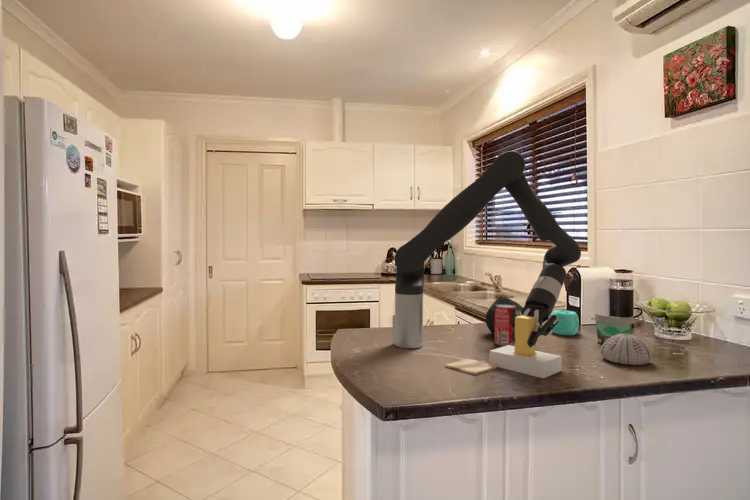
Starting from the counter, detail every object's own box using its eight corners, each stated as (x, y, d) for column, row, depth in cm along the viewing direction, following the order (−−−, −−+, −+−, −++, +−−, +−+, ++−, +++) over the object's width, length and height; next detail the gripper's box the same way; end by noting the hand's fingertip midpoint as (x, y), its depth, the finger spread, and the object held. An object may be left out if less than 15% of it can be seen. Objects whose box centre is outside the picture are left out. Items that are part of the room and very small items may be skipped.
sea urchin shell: (658, 370, 124) (659, 341, 123) (604, 365, 128) (605, 337, 127) (644, 357, 136) (645, 331, 136) (595, 353, 140) (596, 328, 140)
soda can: (517, 347, 147) (518, 307, 146) (494, 346, 148) (495, 306, 148) (515, 342, 153) (516, 304, 153) (493, 341, 155) (494, 303, 154)
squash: (536, 326, 154) (526, 290, 163) (492, 327, 154) (484, 291, 164) (526, 346, 165) (517, 311, 174) (485, 347, 165) (479, 312, 175)
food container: (594, 346, 150) (595, 316, 149) (592, 342, 155) (593, 313, 155) (636, 350, 145) (637, 319, 145) (633, 345, 151) (634, 316, 150)
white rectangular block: (489, 364, 126) (489, 350, 126) (508, 358, 133) (508, 345, 133) (543, 378, 115) (544, 362, 115) (561, 370, 121) (561, 356, 121)
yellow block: (514, 367, 124) (515, 317, 124) (521, 364, 127) (522, 315, 126) (527, 370, 121) (528, 319, 121) (535, 367, 124) (536, 317, 123)
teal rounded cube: (578, 333, 170) (579, 311, 170) (571, 336, 164) (572, 314, 164) (557, 330, 175) (557, 309, 175) (549, 333, 169) (550, 312, 169)
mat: (444, 366, 124) (444, 364, 124) (466, 360, 131) (466, 358, 131) (475, 375, 117) (475, 373, 117) (496, 367, 124) (496, 365, 124)
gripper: (516, 284, 133) (493, 331, 126) (564, 289, 123) (541, 340, 115) (525, 300, 137) (503, 346, 129) (572, 306, 127) (551, 357, 119)
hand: (521, 343), depth 122 cm, fingers closed on yellow block, 4 cm apart
